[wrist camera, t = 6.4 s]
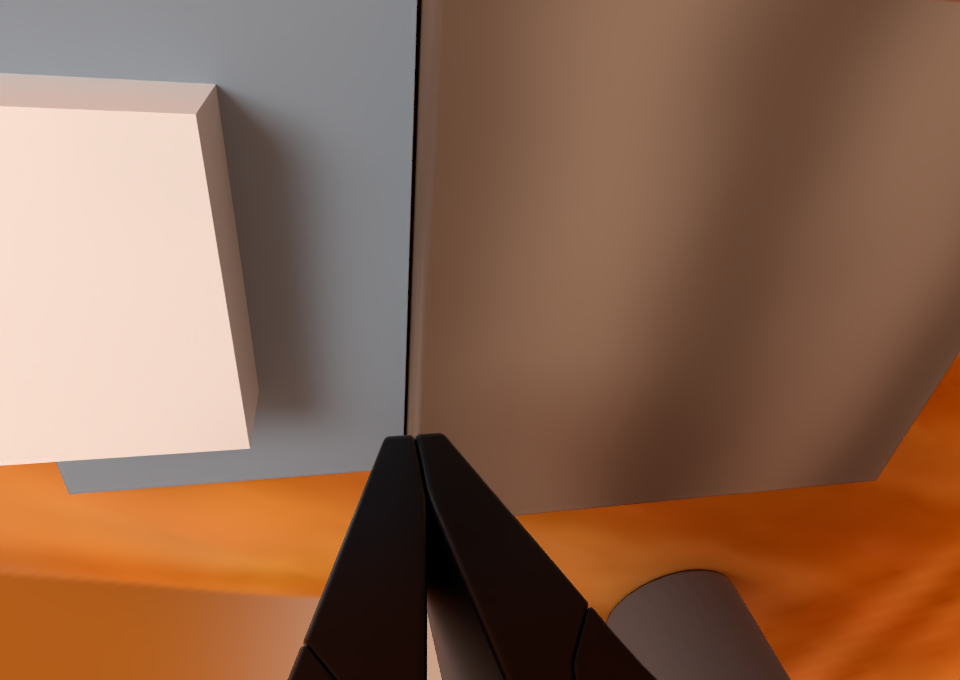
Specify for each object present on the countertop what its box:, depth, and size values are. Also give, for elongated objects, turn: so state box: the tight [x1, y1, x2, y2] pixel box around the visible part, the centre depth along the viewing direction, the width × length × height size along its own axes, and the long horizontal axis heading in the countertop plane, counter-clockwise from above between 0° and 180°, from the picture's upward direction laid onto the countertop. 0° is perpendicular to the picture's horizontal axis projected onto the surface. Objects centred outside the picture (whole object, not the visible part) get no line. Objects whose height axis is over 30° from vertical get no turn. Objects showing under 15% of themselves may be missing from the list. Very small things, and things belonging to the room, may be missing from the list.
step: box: [405, 0, 960, 516], centre depth 14 cm, size 14×12×3 cm
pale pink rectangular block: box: [0, 73, 259, 466], centre depth 12 cm, size 5×7×2 cm
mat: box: [0, 0, 417, 494], centre depth 13 cm, size 8×13×1 cm, turn 174°
